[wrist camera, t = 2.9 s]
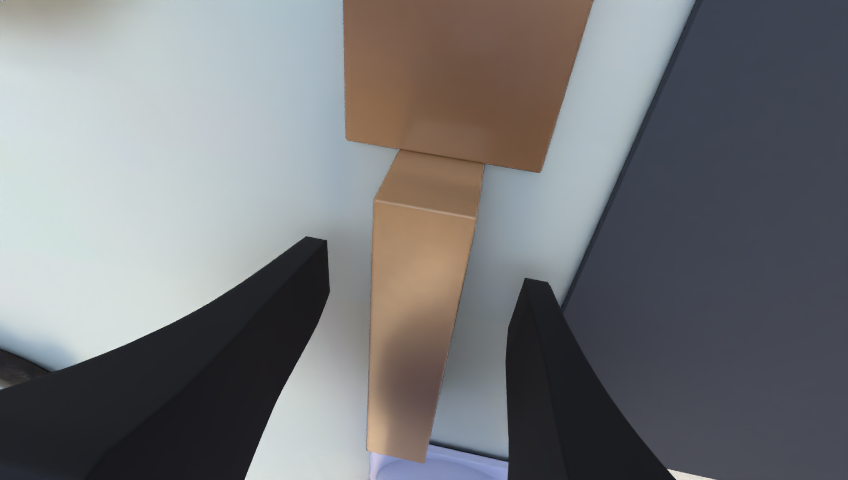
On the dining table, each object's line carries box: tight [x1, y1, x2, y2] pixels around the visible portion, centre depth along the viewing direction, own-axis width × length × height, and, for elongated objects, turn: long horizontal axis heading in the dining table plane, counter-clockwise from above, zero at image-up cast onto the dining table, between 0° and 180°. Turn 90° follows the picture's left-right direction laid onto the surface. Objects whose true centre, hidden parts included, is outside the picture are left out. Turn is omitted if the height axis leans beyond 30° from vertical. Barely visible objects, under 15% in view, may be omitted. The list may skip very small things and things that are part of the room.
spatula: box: [343, 0, 594, 463], centre depth 11 cm, size 18×5×3 cm, turn 174°
